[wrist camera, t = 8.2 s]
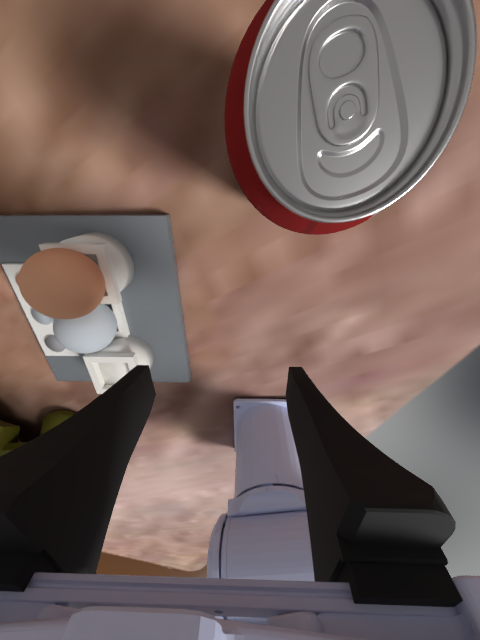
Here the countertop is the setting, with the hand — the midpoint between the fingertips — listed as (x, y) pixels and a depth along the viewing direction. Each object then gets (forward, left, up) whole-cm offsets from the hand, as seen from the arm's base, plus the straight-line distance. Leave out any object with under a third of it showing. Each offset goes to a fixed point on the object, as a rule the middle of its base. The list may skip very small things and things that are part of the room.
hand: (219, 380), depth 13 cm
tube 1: (+4, +10, -9) cm, 14 cm away
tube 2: (-6, +10, -9) cm, 15 cm away
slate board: (-1, +12, -10) cm, 16 cm away
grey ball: (-1, +12, -7) cm, 14 cm away
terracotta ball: (+4, +10, -5) cm, 12 cm away
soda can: (+11, -4, -11) cm, 16 cm away
